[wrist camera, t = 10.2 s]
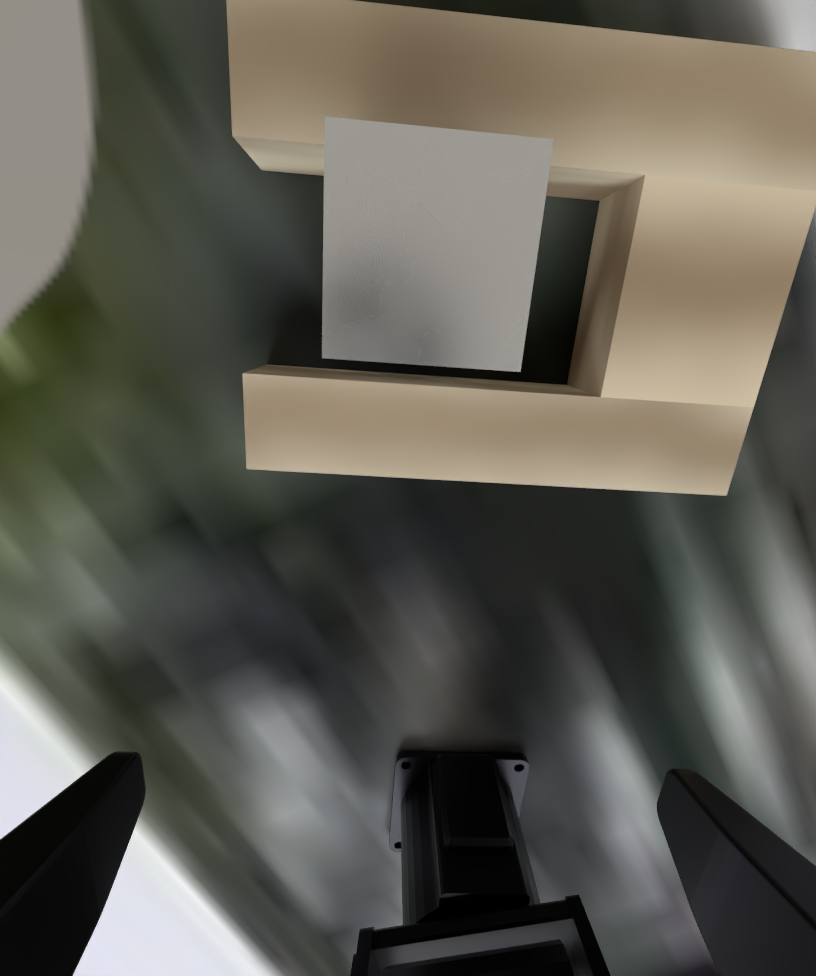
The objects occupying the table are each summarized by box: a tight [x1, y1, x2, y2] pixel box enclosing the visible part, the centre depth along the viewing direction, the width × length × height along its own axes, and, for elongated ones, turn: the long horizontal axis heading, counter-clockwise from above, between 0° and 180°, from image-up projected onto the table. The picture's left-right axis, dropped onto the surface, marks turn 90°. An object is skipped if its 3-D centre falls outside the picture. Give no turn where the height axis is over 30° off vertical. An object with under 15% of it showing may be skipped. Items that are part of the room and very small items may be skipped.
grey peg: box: [322, 116, 554, 372], centre depth 13 cm, size 4×4×8 cm
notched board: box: [226, 0, 816, 496], centre depth 15 cm, size 12×16×3 cm
